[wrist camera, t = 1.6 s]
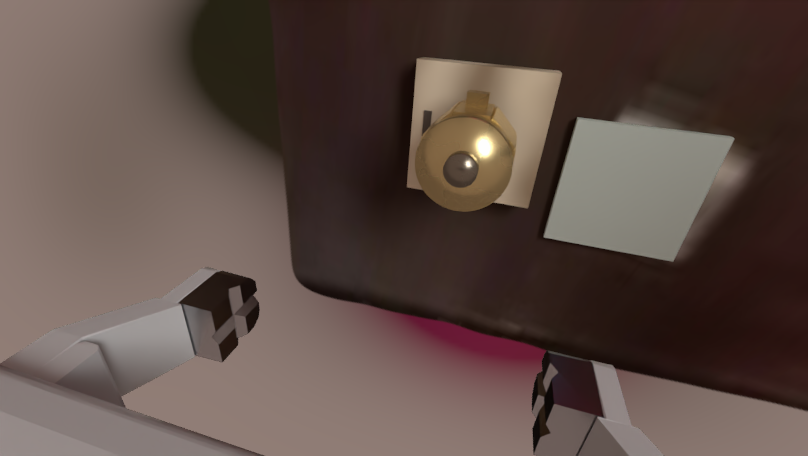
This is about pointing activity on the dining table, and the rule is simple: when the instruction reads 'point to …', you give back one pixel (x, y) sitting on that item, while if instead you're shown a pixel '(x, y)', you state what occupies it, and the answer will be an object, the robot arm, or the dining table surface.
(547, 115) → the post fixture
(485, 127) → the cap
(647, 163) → the coaster
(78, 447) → the robot arm
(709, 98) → the dining table surface
